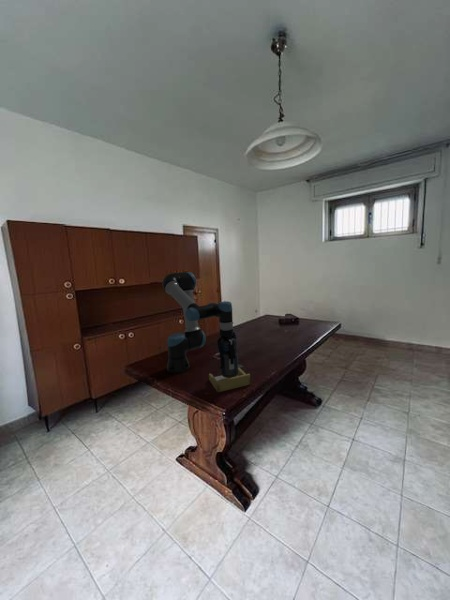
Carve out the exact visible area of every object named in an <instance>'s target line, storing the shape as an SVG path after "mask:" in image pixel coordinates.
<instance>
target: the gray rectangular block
mask: <svg viewBox="0 0 450 600" xmlns="http://www.w3.org/2000/svg"><path fill="white" fill-rule="evenodd" d="M238 368H240V369H241V370H242V371H244V372H245V366H243V365H242V364H238Z"/></svg>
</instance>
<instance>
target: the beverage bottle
mask: <svg viewBox="0 0 450 600" xmlns="http://www.w3.org/2000/svg"><path fill="white" fill-rule="evenodd" d="M225 340H226V337H221V336H220V337H219V338H218V339H217V341H216V342H217V347H218V352H219V357H220V367H219V369H220V374H221V376H223V377H225V378H232V377H236V376H237V375H238V365H239V359H238V358H239V357H238V355H239V354H238V353H239V352H238V350H237V349H238V339H237V334H236V333H235V332H234V331H233V335H232V336H231V341H233V342H234V351H235V358H234V369H231V370H230V369H229V359H228V358H229V354H228V350H229V344H228V343H229V342H227V341H225ZM229 351H230V350H229Z"/></svg>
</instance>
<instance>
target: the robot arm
mask: <svg viewBox="0 0 450 600" xmlns="http://www.w3.org/2000/svg"><path fill="white" fill-rule="evenodd" d="M161 285H162V288H163V290H164V292H165V293H166V294H168V295H170V296H171V297H172V298H173V299H174V300H175V301H176V302H177V304H179V306H181V308H182V313H183V318H184V324H185V325H184V326H185V329H184V331H183V332H176V333H173V334H171V335H169V336H168V338H167V344H166V345H167V352H168V353H167V354H168V360H167V365H166V370H167V372H168V373H171V374H181V373H185V372H187V371H188V370H189V369H190V367H191V366H190V362H189V359H188V356H187V352H189V351H193V350H196V349H197V350H198V349H200V348H202V347H204V346H205V344H206V341H207V340H206V338H207V337H206V334H205V331H204V330H201V327H200V326H199V324H198V321H201V320H205V319H210V318H213V317H214V318H215V317H216V318H219V323H218V324H219V335H220V337H226V340H225V341H227V342H229V343H228V344H229V350H230V351H229V350H228V354H229V358H228V359H229V369H230V370H231V369H234V358H235V351H234V342H233V341H231V336H232V335H233V332H234V329H233V327H234V322H233V305H232V302H231V301H225V300H224V301H220V302H218V303H215V302H209V303H207V304H204V305H199V304H197V303H196V301H195V298H194V294H193V293H194V291H195V288H196V287H197V278H196V276H195V275H194V274H193V272H191V271H181V272H172V273H171V272H170V273H168V274H167V275H165V276H164V278H163V279H162V284H161Z"/></svg>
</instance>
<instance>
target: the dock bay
mask: <svg viewBox="0 0 450 600" xmlns="http://www.w3.org/2000/svg"><path fill="white" fill-rule="evenodd" d="M208 379H209V382H210V383H211V384H212V386H213V388H214V389H215V391H216V392H217V393H220V392H221V393H222V392H225V391H229V390H233V389H237V388H242V387H245V386H250V385H251V374H250V373H246V372H245V370H244V371H242V370H241V369H240V368H238V375H237V376H236V377H232V378H225V377H223V376H222V375H217V376H214V375H213V374H212V373H209V374H208Z"/></svg>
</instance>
